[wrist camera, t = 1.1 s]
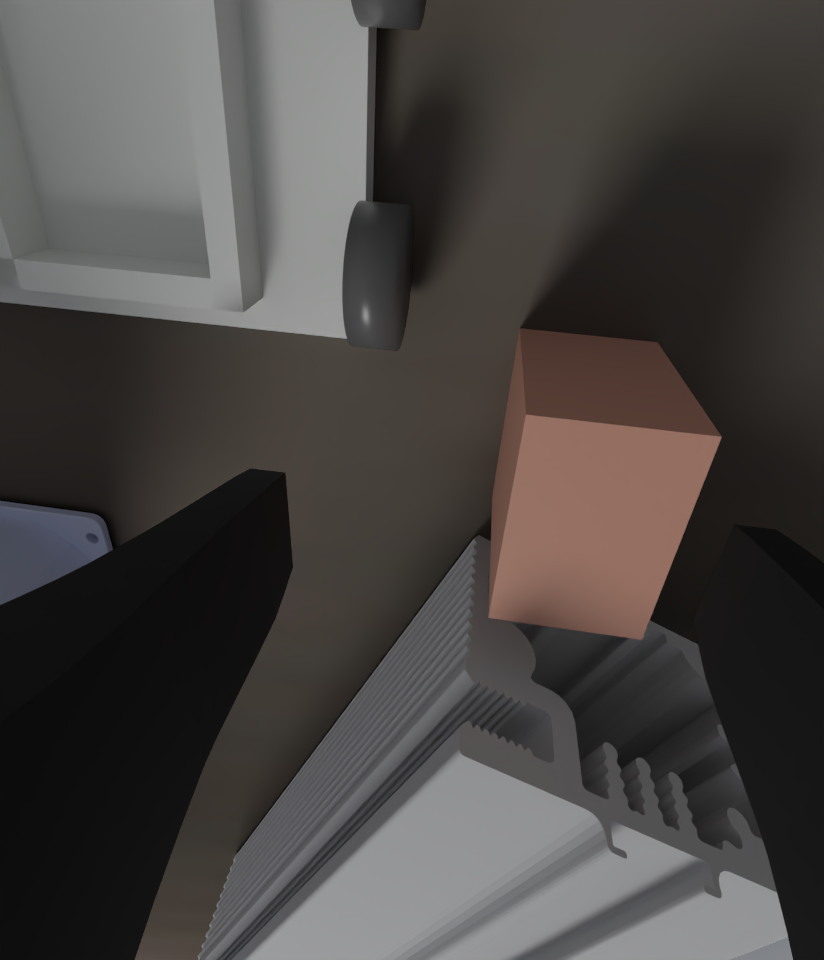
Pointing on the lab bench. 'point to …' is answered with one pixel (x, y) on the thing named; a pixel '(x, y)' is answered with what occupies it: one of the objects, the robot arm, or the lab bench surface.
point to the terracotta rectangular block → (593, 482)
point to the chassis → (201, 164)
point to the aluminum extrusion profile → (509, 807)
